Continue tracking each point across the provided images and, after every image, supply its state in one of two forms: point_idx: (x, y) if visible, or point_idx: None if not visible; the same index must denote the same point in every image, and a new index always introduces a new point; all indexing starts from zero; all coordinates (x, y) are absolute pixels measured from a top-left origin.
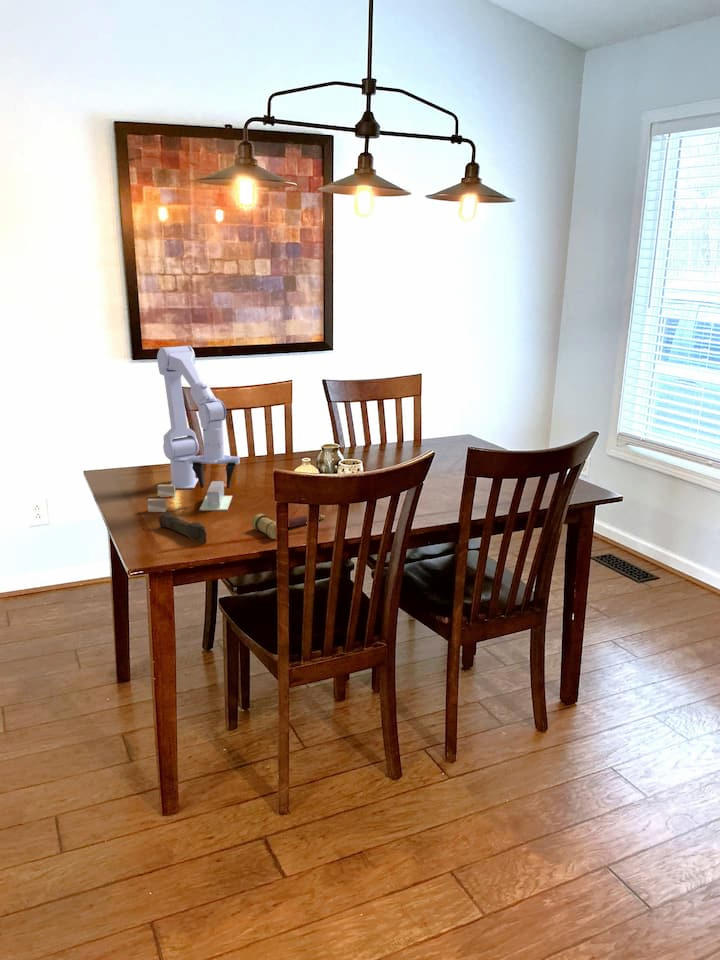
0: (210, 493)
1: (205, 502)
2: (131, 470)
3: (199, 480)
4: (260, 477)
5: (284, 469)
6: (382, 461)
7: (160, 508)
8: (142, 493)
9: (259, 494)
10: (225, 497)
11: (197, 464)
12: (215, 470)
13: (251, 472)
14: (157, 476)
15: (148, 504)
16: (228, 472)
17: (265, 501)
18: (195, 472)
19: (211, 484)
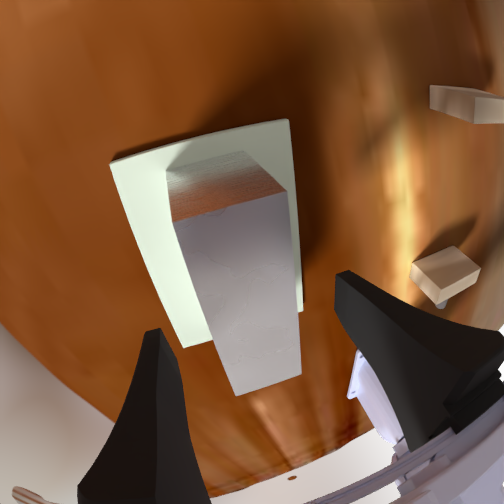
0: (251, 193)
1: None
2: None
3: (389, 297)
4: None
5: None
6: (31, 500)
7: (456, 89)
8: (478, 258)
9: (93, 388)
10: (204, 322)
11: (475, 401)
12: (312, 439)
13: (221, 463)
14: None
15: (497, 95)
16: (134, 450)
17: (19, 337)
18: (461, 326)
19: (292, 338)
